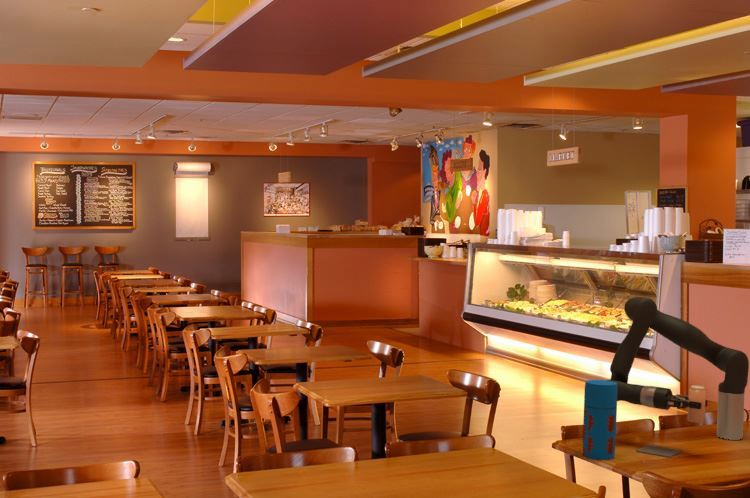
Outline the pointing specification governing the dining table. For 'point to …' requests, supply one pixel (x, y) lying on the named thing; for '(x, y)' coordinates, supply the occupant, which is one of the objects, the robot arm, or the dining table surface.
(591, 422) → the thermos
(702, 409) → the terracotta shaker
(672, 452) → the charcoal mat
